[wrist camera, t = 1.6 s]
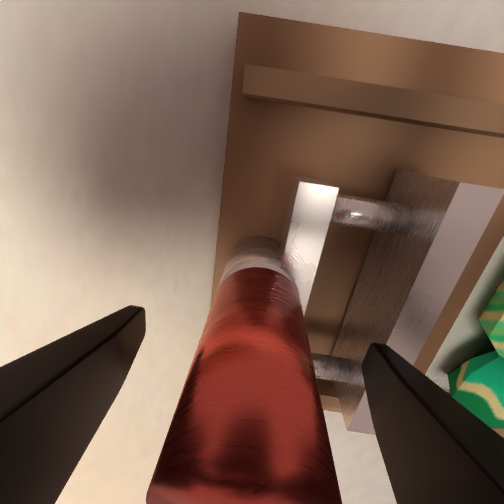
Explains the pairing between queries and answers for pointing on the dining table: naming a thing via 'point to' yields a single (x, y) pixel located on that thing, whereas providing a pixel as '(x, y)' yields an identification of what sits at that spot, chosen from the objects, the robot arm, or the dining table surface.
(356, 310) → the lever
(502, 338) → the candy
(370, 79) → the wooden vise
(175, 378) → the dining table surface
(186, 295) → the dining table surface
